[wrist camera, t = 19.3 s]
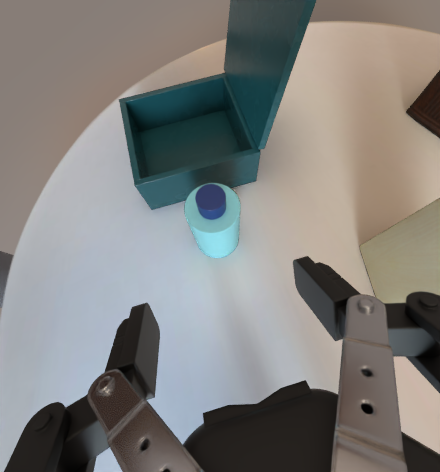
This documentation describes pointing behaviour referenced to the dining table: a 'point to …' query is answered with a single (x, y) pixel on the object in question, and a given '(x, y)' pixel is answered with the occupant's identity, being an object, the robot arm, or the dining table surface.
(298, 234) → the dining table surface
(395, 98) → the dining table surface
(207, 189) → the water bottle
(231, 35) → the teal box lid
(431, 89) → the manual coffee grinder
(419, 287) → the toy refrigerator
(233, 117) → the teal open box
